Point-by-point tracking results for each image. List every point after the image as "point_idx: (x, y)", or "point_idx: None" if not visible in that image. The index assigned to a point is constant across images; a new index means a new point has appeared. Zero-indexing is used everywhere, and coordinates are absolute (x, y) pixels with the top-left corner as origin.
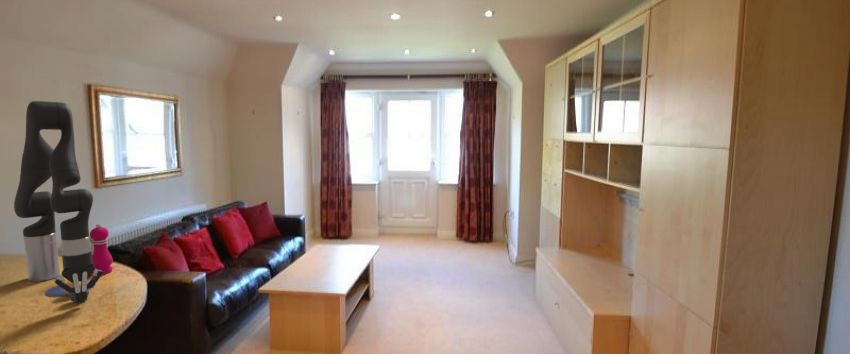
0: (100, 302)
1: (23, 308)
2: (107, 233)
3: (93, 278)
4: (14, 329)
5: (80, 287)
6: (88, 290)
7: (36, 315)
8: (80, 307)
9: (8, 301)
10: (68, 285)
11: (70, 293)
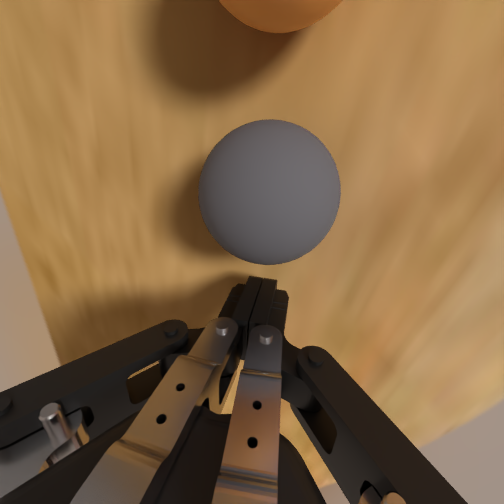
0: (353, 292)
1: (7, 34)
2: None
3: (343, 466)
4: (54, 305)
5: (268, 252)
6: (331, 226)
7: (94, 224)
8: None
9: None
10: None
11: (206, 226)
